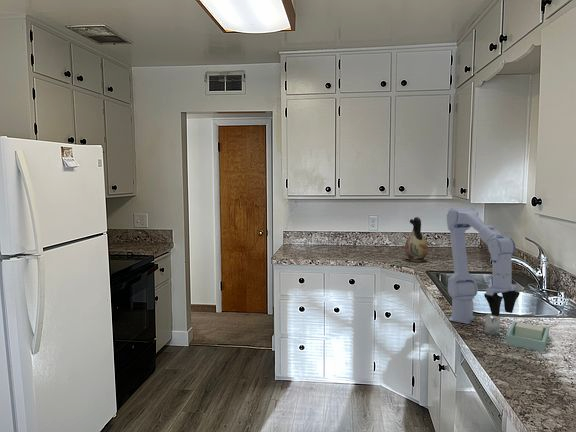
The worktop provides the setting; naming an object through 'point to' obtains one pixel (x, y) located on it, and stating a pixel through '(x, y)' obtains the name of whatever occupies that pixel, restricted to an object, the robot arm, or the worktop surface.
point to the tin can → (492, 324)
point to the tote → (526, 339)
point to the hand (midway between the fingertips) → (502, 313)
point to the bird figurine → (416, 243)
